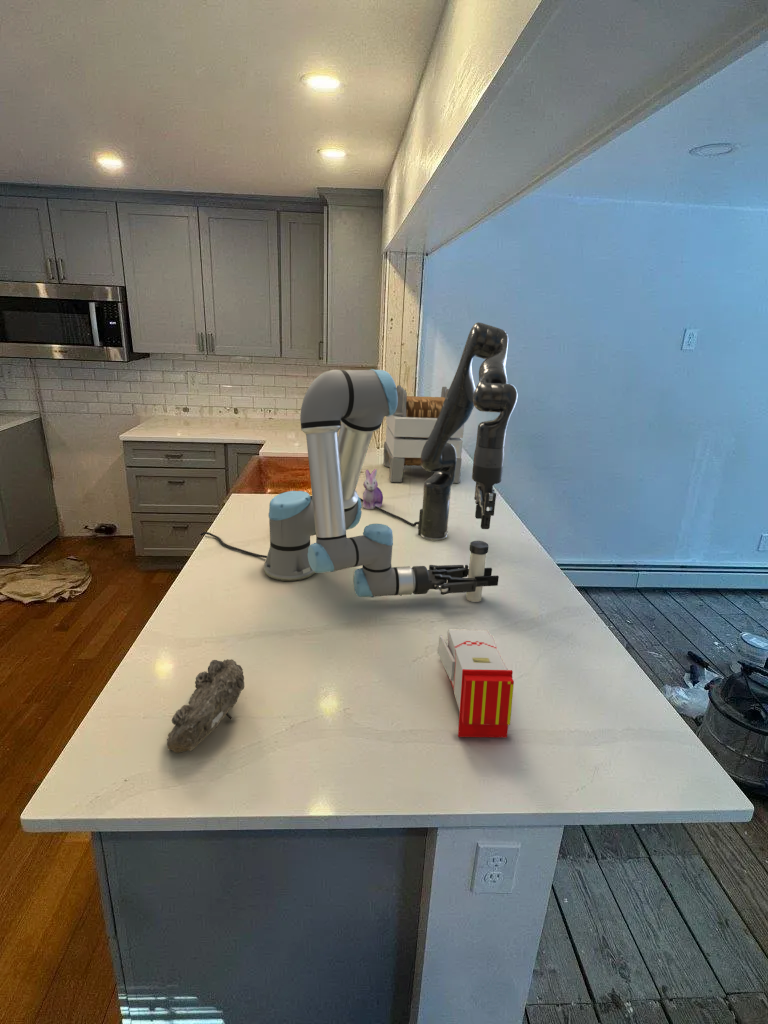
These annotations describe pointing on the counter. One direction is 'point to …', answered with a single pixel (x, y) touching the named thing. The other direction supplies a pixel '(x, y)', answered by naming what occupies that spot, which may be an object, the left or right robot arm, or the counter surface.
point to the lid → (479, 547)
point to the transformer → (415, 433)
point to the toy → (478, 682)
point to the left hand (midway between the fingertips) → (494, 576)
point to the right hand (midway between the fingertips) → (481, 523)
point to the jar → (476, 570)
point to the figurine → (371, 491)
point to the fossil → (206, 705)
